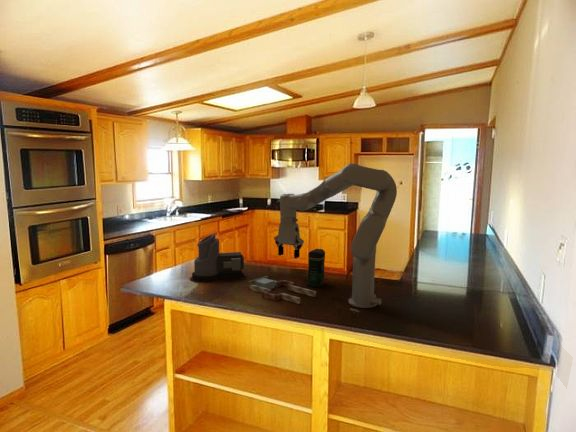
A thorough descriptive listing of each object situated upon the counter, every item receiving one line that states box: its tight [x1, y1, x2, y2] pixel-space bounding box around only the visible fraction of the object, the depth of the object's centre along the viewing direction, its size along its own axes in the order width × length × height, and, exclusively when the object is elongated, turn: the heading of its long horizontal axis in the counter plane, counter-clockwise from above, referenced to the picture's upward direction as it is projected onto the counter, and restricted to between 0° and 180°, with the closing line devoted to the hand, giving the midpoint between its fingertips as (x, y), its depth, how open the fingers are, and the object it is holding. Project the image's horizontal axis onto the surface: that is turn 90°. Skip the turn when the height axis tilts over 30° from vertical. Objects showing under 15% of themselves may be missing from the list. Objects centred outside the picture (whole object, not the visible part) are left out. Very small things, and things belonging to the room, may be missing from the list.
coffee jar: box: [307, 248, 326, 288], centre depth 198 cm, size 10×8×19 cm
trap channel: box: [247, 275, 317, 305], centre depth 186 cm, size 32×21×4 cm
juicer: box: [189, 233, 247, 284], centre depth 209 cm, size 30×16×24 cm, turn 106°
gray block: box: [255, 278, 275, 290], centre depth 193 cm, size 7×7×4 cm
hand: (288, 256), depth 181 cm, fingers open, 9 cm apart
